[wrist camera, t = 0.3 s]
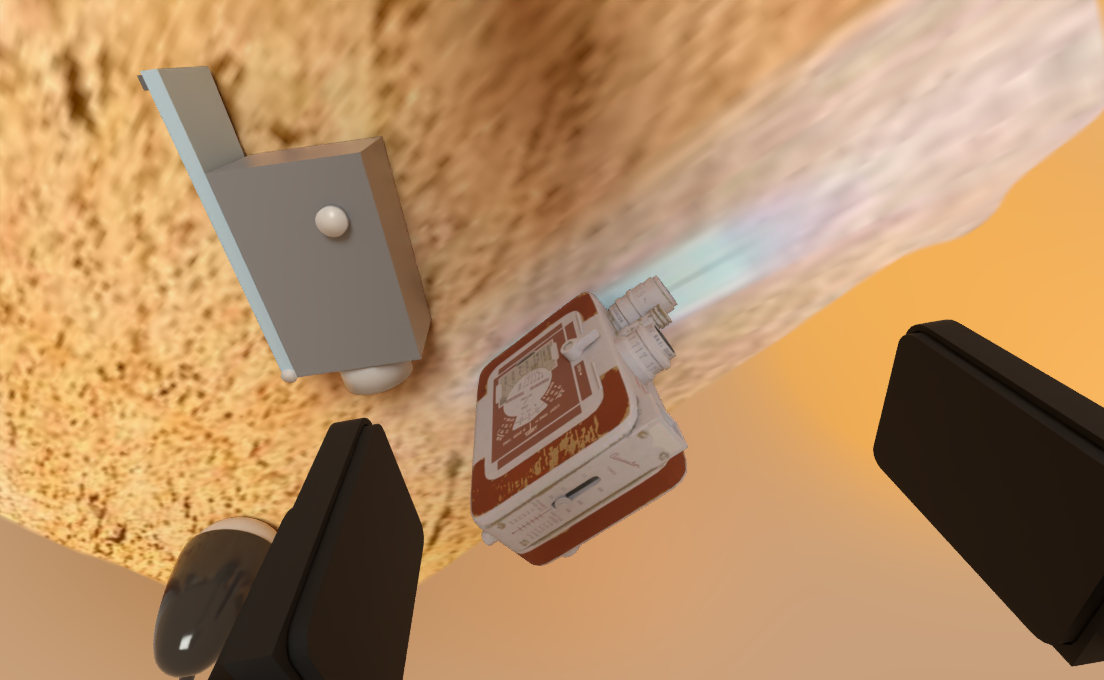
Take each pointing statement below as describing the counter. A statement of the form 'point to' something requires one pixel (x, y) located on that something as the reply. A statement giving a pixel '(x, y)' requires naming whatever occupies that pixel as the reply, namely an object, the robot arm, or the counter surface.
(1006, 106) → the counter surface
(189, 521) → the counter surface
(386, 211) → the block
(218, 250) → the counter surface
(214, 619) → the dark grey egg-shaped piece
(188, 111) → the side door
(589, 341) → the cine camera
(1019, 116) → the counter surface
